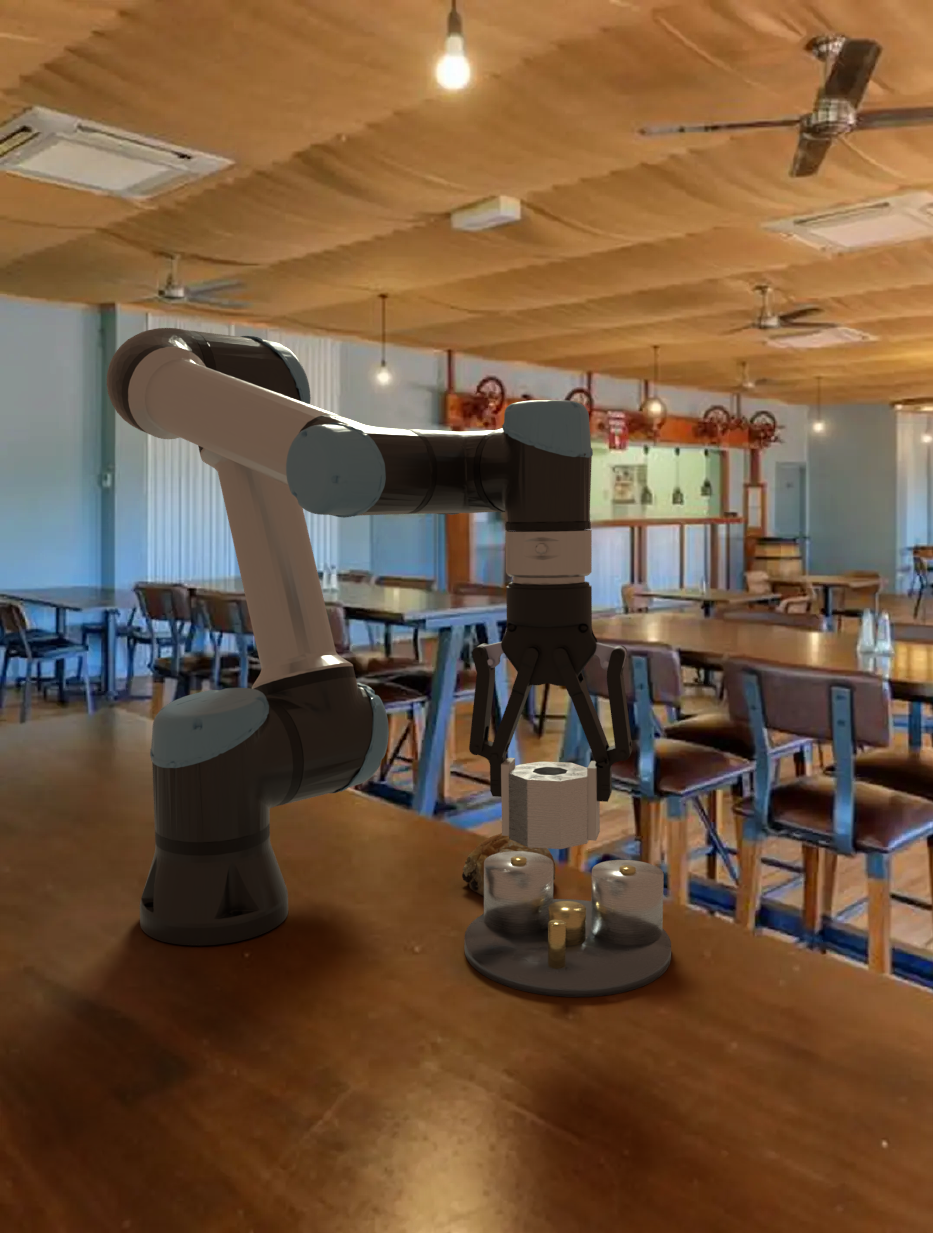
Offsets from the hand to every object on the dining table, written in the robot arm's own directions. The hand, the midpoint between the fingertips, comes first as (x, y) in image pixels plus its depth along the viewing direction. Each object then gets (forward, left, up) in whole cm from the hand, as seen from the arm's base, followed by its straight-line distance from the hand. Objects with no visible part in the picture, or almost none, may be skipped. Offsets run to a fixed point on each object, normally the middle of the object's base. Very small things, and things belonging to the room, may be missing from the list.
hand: (550, 833), depth 97 cm
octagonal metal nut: (0, 0, 0) cm, 0 cm away
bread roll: (-8, +22, -14) cm, 28 cm away
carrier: (+1, +7, -14) cm, 15 cm away
